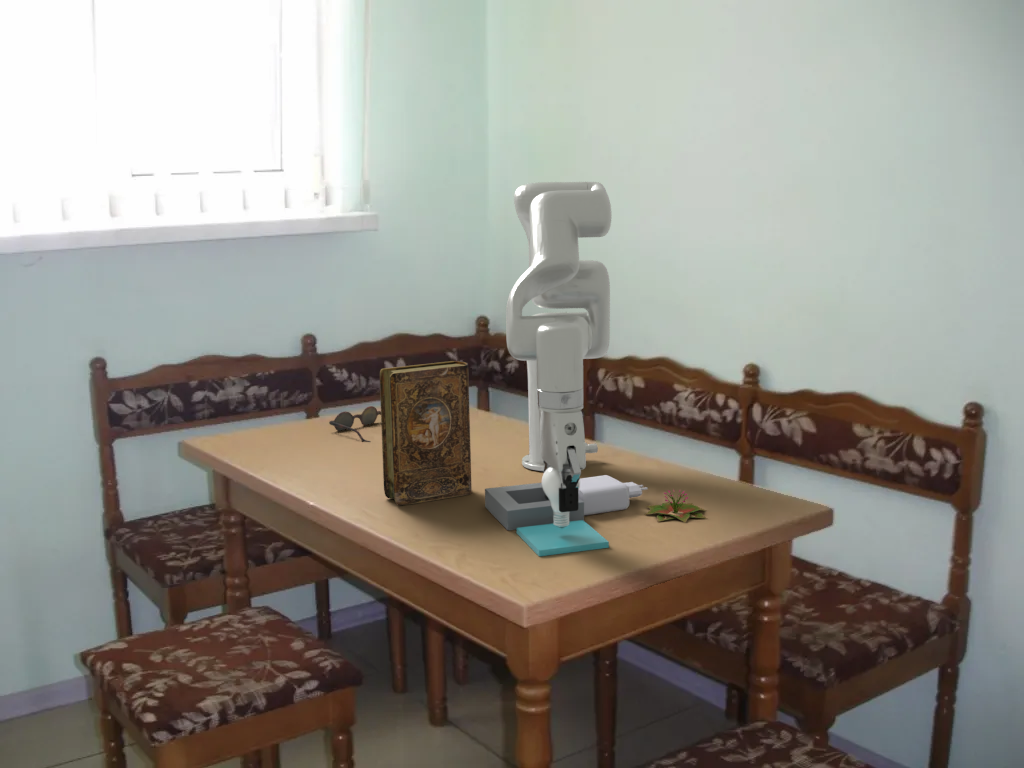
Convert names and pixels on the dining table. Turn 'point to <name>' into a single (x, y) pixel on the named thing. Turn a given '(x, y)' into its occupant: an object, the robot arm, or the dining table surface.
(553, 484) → the lightbulb
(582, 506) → the frame
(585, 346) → the robot arm
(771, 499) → the dining table surface
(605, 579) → the dining table surface
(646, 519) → the dining table surface
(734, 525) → the dining table surface
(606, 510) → the charger
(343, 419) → the eyeglasses
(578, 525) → the plate
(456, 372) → the book
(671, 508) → the lily flower
